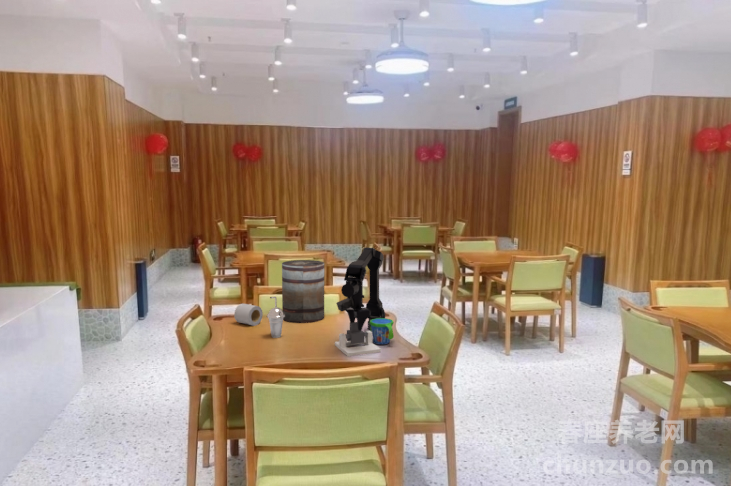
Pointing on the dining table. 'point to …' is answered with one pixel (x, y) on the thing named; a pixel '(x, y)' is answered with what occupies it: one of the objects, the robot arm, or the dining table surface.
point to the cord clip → (355, 334)
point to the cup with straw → (276, 320)
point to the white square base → (360, 350)
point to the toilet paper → (248, 314)
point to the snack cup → (381, 330)
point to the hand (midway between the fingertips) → (355, 327)
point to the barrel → (303, 291)
